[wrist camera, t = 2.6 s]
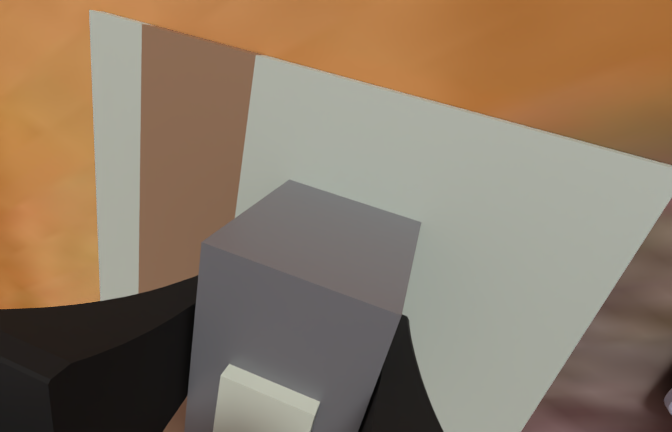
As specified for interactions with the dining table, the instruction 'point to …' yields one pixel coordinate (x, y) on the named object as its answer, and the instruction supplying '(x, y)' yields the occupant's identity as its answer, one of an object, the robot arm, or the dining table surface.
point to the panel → (370, 202)
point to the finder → (296, 313)
